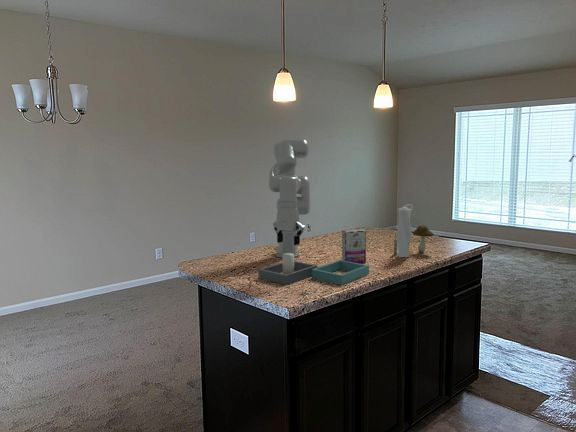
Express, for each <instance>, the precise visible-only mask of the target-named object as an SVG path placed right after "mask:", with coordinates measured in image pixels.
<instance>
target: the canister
mask: <svg viewBox="0 0 576 432" xmlns="http://www.w3.org/2000/svg"><path fill="white" fill-rule="evenodd" d="M294 261H295V258H294V254H293V253H284V254H283V258H282V262H283V272H282V274H285V275H286V274H289V273H292V272H295V270H294Z"/></svg>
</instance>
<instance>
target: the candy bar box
mask: <svg viewBox="0 0 576 432" xmlns="http://www.w3.org/2000/svg"><path fill="white" fill-rule="evenodd" d="M366 249H367V231H366V230H365V229H363V228H360V229H346V230H345V229H343V230H342V231H341V260H342V261H347V262H353V263H358V264H365V263H366V261H367V259H366V258H367V256H366V255H367V254H366V253H367V250H366Z"/></svg>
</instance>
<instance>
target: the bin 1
mask: <svg viewBox="0 0 576 432" xmlns="http://www.w3.org/2000/svg"><path fill="white" fill-rule="evenodd" d="M317 267H318V265H317V264H311V263H306V262H301V261H297V260H294V272H292V273H289V274H286V275H285V274H283V261H282V262H279V263H276V264H273V265H268V266H265V267H262V268H258V277H257V278H258V279H260V278H261V279H260V280H264V279H265V280H264V281H269V282H273V283H276V284H281V285H285V286H287V284H288V285H291V284H293V283H296V282H299V281H301V280H304V279H307V278H312V269H314V268H317Z"/></svg>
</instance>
